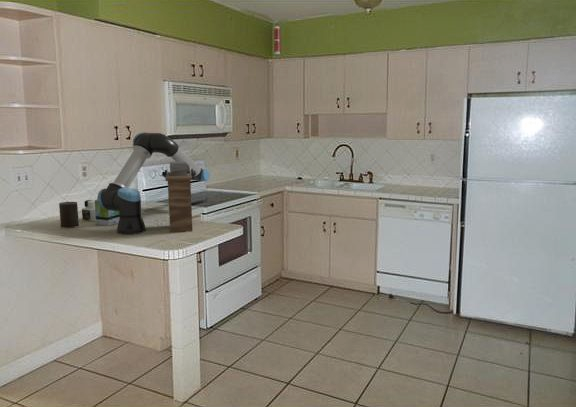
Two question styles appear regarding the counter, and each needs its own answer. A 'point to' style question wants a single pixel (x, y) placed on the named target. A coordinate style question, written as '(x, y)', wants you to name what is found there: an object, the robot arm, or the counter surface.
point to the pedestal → (180, 202)
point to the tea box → (105, 216)
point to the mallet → (178, 168)
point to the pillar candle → (68, 214)
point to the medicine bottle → (89, 211)
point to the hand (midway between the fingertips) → (178, 168)
